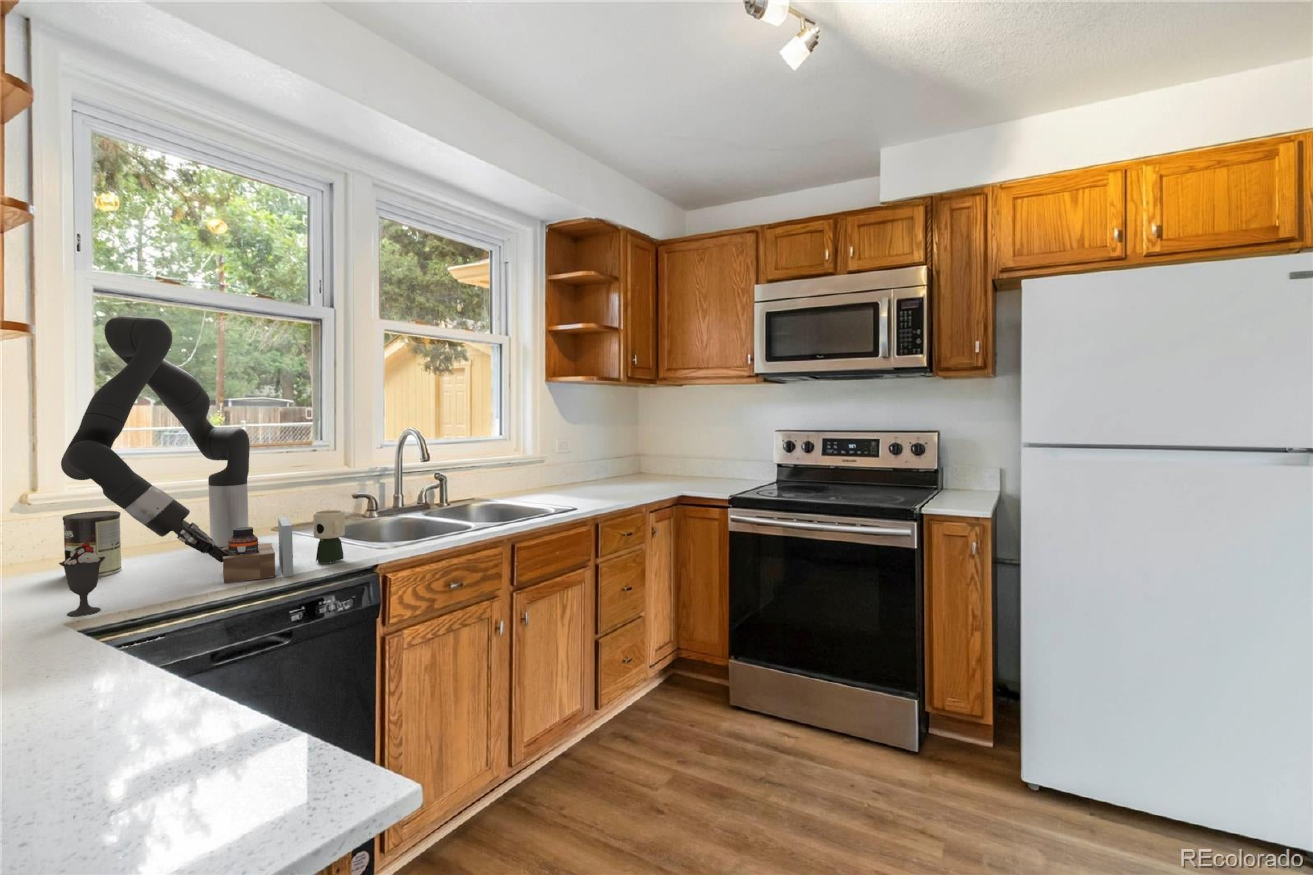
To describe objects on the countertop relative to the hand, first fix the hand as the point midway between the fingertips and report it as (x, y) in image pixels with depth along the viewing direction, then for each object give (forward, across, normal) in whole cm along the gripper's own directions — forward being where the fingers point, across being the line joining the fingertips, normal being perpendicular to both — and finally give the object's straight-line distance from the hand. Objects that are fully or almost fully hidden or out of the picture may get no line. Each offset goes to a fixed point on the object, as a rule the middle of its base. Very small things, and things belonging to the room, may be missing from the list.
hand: (225, 558), depth 150 cm
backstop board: (+12, 0, -6) cm, 13 cm away
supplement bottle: (+6, 0, +1) cm, 6 cm away
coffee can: (-15, +21, +22) cm, 34 cm away
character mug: (+19, +3, -12) cm, 23 cm away
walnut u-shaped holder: (+6, 0, 0) cm, 6 cm away
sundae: (-13, -15, +20) cm, 28 cm away
